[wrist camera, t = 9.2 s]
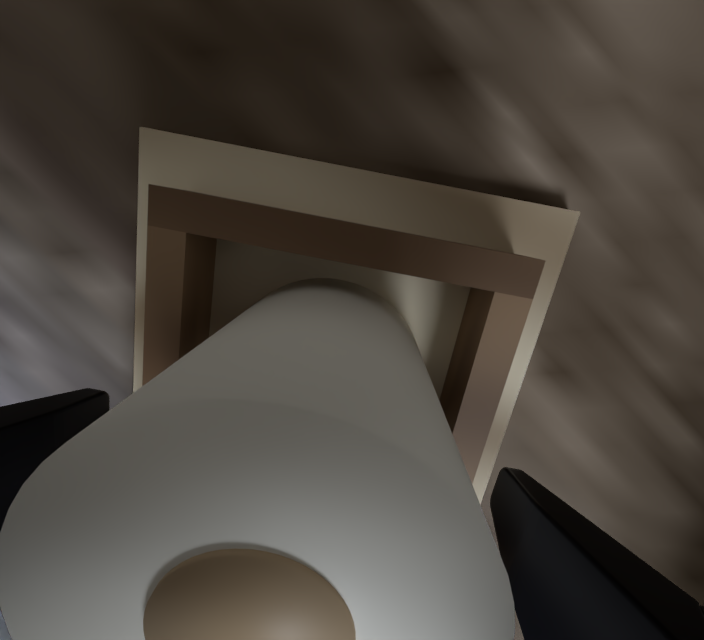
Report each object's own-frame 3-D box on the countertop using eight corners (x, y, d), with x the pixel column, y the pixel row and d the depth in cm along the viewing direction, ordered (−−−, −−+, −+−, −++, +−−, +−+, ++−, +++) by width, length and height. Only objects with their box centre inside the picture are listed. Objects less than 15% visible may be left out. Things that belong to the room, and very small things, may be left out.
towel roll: (397, 469, 13) (440, 836, 5) (223, 436, 13) (5, 757, 5) (442, 299, 11) (603, 469, 4) (241, 260, 11) (-41, 347, 4)
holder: (458, 543, 15) (477, 610, 12) (140, 483, 14) (92, 539, 12) (569, 212, 11) (628, 210, 9) (151, 131, 11) (87, 105, 8)
